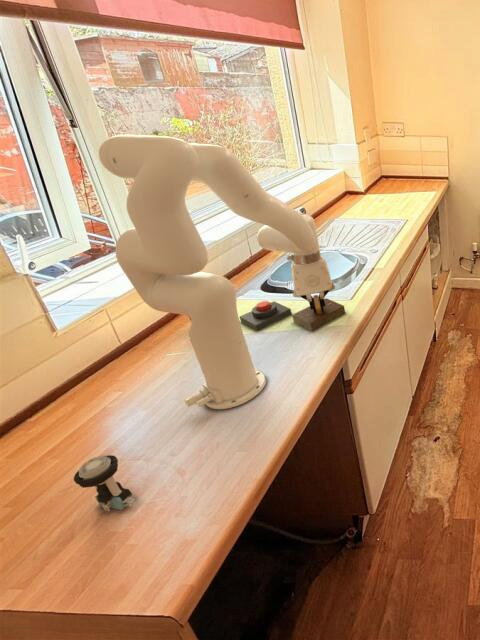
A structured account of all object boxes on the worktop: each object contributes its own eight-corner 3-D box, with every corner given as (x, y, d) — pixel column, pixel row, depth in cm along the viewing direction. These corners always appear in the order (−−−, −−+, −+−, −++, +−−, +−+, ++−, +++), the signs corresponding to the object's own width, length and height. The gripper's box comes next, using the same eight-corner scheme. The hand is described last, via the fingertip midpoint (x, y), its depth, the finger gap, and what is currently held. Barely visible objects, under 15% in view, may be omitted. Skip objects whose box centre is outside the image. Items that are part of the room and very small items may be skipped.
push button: (150, 492, 73) (129, 454, 69) (120, 521, 69) (96, 482, 65) (119, 487, 74) (97, 449, 70) (87, 515, 69) (61, 476, 65)
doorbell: (257, 331, 120) (254, 320, 118) (241, 322, 124) (237, 311, 122) (291, 314, 129) (289, 303, 127) (275, 306, 133) (272, 296, 131)
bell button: (261, 313, 123) (260, 308, 122) (255, 309, 124) (253, 304, 124) (273, 307, 125) (271, 303, 125) (266, 304, 127) (265, 299, 126)
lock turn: (321, 313, 124) (319, 301, 122) (316, 314, 123) (314, 302, 122) (320, 305, 128) (317, 294, 126) (315, 306, 127) (312, 295, 126)
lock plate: (312, 331, 120) (310, 323, 119) (294, 322, 124) (291, 314, 123) (345, 313, 130) (343, 305, 128) (327, 305, 134) (326, 297, 132)
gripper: (277, 266, 112) (291, 321, 119) (337, 256, 119) (346, 308, 126) (276, 256, 118) (290, 310, 125) (333, 247, 125) (342, 298, 132)
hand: (318, 309), depth 126 cm, fingers closed
